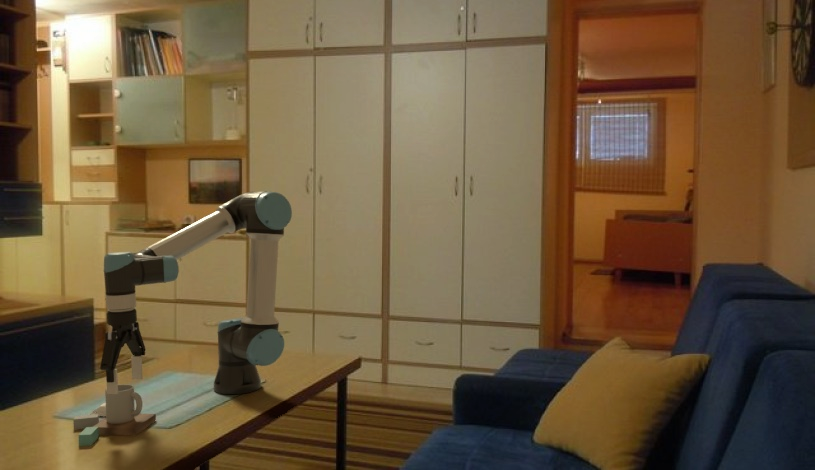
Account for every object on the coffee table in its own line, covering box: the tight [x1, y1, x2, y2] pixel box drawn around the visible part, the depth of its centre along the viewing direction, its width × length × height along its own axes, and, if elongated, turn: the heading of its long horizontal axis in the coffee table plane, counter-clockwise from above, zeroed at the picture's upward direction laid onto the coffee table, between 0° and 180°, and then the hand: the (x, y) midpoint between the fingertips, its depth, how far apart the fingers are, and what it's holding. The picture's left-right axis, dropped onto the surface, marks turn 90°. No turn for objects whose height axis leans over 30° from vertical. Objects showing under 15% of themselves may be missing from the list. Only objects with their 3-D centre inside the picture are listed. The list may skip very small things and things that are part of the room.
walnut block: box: [93, 413, 157, 437], centre depth 188 cm, size 12×12×2 cm
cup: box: [104, 383, 143, 424], centre depth 188 cm, size 7×10×9 cm
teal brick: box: [78, 427, 100, 447], centre depth 177 cm, size 6×3×3 cm, turn 7°
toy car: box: [89, 399, 136, 416], centre depth 200 cm, size 6×12×4 cm, turn 92°
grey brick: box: [73, 414, 100, 431], centre depth 189 cm, size 6×3×3 cm, turn 109°
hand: (125, 386), depth 188 cm, fingers open, 13 cm apart
